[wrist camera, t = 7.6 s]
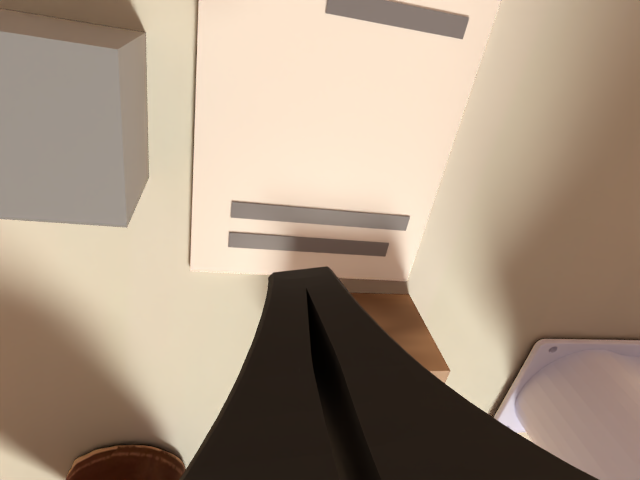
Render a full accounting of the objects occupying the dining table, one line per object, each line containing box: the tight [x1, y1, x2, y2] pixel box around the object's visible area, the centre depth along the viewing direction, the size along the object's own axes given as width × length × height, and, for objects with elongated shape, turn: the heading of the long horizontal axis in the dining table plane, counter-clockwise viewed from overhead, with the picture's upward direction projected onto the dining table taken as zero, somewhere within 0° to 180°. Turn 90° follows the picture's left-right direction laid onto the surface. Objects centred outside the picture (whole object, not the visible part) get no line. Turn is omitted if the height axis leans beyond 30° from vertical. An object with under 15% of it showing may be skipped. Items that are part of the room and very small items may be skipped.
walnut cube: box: [350, 293, 450, 383], centre depth 20 cm, size 5×5×5 cm
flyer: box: [190, 0, 502, 281], centre depth 16 cm, size 10×13×1 cm
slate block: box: [0, 9, 149, 227], centre depth 13 cm, size 5×5×4 cm
